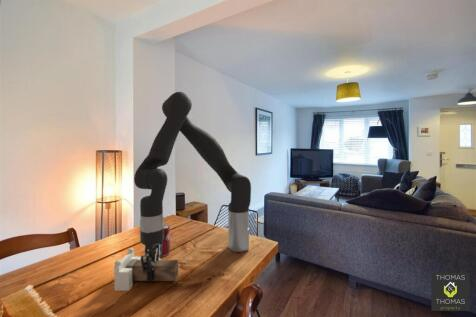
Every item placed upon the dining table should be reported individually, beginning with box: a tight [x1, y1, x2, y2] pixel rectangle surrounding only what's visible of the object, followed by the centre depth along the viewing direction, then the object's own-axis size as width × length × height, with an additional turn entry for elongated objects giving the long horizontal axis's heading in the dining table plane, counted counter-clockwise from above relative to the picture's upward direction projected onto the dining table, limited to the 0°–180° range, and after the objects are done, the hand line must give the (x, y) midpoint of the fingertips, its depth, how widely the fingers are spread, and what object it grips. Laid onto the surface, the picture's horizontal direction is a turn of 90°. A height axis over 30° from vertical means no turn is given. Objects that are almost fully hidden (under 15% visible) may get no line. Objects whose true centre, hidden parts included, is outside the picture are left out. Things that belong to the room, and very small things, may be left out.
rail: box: [126, 259, 179, 282], centre depth 79 cm, size 16×4×5 cm, turn 90°
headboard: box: [113, 247, 142, 292], centre depth 78 cm, size 5×10×10 cm, turn 0°
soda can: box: [161, 223, 171, 258], centre depth 98 cm, size 7×7×12 cm
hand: (153, 276), depth 79 cm, fingers closed on rail, 4 cm apart
